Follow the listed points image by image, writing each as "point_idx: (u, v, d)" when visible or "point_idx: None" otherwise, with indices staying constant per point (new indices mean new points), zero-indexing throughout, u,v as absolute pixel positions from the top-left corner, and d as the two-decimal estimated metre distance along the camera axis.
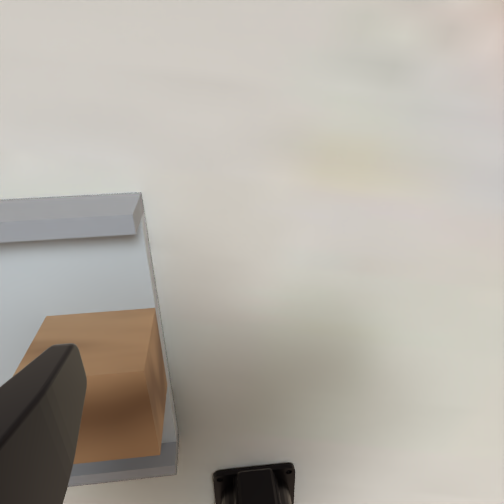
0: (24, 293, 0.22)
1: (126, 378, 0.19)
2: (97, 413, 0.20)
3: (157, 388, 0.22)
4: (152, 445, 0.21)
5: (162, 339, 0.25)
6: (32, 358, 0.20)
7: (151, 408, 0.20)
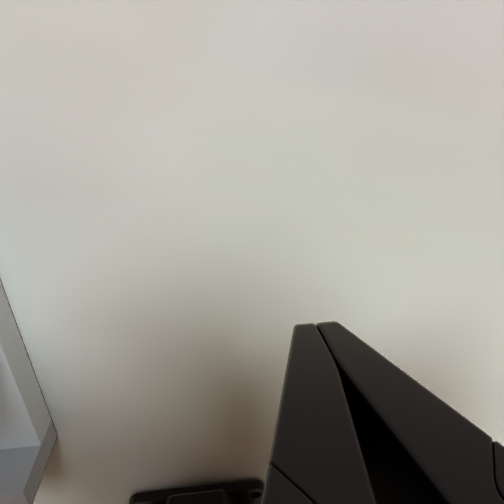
0: None
1: None
2: None
3: None
4: None
5: None
6: None
7: None
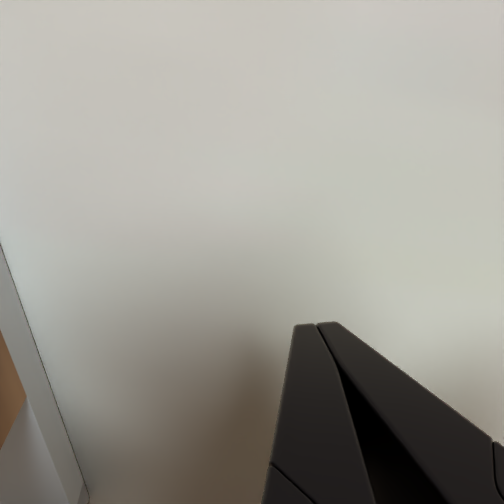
0: None
1: None
2: None
3: None
4: None
5: (1, 283, 0.10)
6: None
7: None
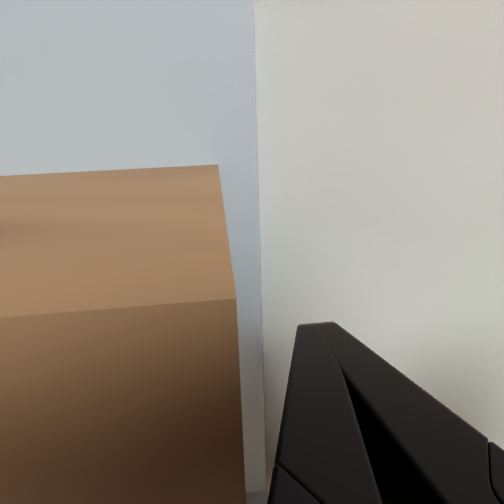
0: None
1: (156, 333, 0.04)
2: (39, 477, 0.05)
3: None
4: None
5: None
6: None
7: (242, 452, 0.06)
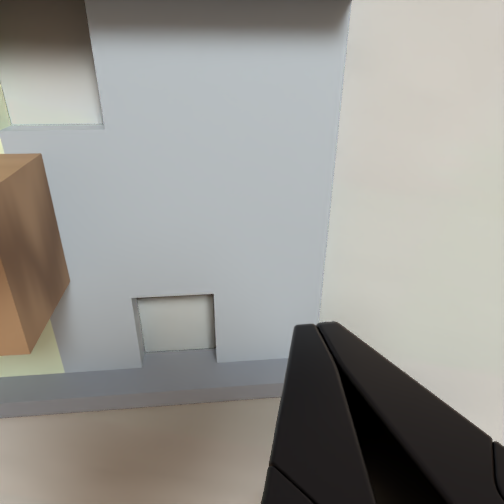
0: (174, 112, 0.16)
1: None
2: None
3: (33, 260, 0.15)
4: (15, 336, 0.14)
5: None
6: None
7: (5, 270, 0.13)
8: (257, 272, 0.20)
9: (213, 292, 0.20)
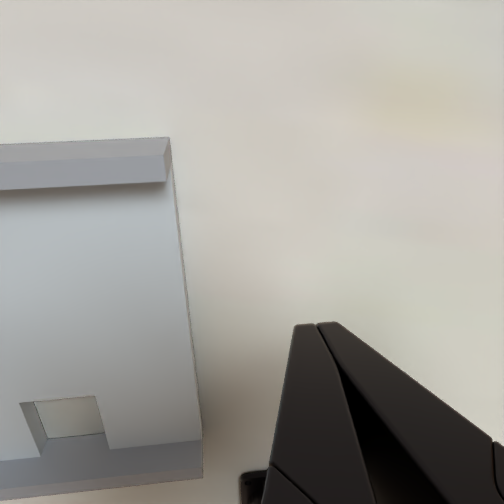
0: (27, 260, 0.18)
1: None
2: None
3: None
4: None
5: (189, 319, 0.22)
6: None
7: None
8: (131, 377, 0.22)
9: (94, 394, 0.22)
